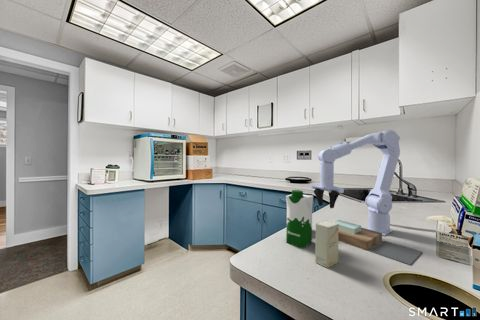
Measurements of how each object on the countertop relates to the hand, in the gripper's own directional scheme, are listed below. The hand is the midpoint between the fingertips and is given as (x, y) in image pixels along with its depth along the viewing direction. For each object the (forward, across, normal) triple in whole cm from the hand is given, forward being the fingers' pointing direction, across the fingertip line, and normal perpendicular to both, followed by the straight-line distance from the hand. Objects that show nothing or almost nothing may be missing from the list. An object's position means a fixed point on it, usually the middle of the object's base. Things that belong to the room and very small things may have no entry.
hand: (326, 206), depth 91 cm
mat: (+10, +26, 0) cm, 28 cm away
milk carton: (+11, +2, -21) cm, 24 cm away
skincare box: (+11, +16, -26) cm, 32 cm away
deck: (+10, +12, 0) cm, 16 cm away
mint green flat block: (+7, +9, 0) cm, 12 cm away
